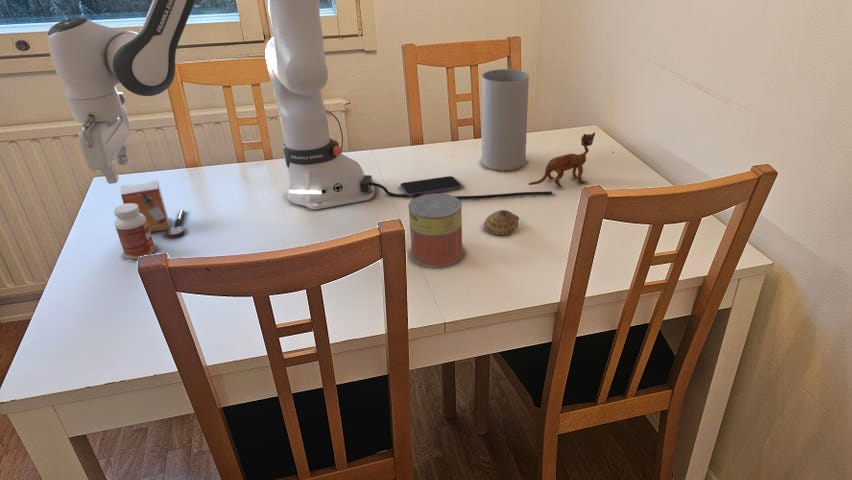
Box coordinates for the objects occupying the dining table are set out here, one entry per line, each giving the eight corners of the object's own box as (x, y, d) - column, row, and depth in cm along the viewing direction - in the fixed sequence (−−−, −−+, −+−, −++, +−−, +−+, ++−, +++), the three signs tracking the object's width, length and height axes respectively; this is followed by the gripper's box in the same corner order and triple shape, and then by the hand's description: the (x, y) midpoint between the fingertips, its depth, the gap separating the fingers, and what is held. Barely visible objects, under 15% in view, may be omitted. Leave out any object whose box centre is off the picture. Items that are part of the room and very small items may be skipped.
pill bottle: (158, 254, 142) (144, 209, 136) (127, 262, 139) (112, 217, 133) (152, 243, 146) (139, 198, 141) (123, 250, 144) (107, 205, 138)
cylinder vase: (526, 172, 180) (530, 82, 167) (481, 171, 180) (481, 82, 167) (524, 154, 190) (527, 69, 177) (482, 154, 191) (482, 69, 177)
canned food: (414, 240, 147) (411, 193, 141) (464, 241, 147) (463, 193, 141) (408, 266, 138) (404, 216, 131) (461, 267, 137) (460, 217, 131)
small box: (133, 236, 149) (119, 194, 144) (132, 225, 153) (119, 185, 148) (170, 229, 152) (158, 188, 146) (169, 219, 156) (157, 179, 151)
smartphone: (462, 186, 170) (408, 194, 165) (462, 189, 171) (408, 198, 166) (452, 175, 176) (399, 183, 171) (452, 179, 177) (399, 187, 171)
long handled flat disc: (174, 213, 159) (173, 209, 158) (191, 211, 160) (190, 208, 159) (164, 238, 148) (163, 235, 148) (183, 237, 149) (182, 233, 148)
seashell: (524, 211, 155) (516, 213, 147) (520, 234, 156) (512, 237, 148) (491, 206, 157) (482, 208, 149) (488, 229, 158) (479, 232, 150)
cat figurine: (533, 193, 168) (535, 143, 161) (523, 183, 173) (525, 134, 166) (594, 183, 173) (599, 135, 166) (583, 174, 178) (587, 126, 171)
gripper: (100, 124, 118) (124, 192, 126) (125, 90, 135) (145, 152, 143) (62, 127, 117) (89, 195, 125) (92, 93, 134) (114, 155, 142)
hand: (119, 172), depth 134 cm, fingers open, 8 cm apart
